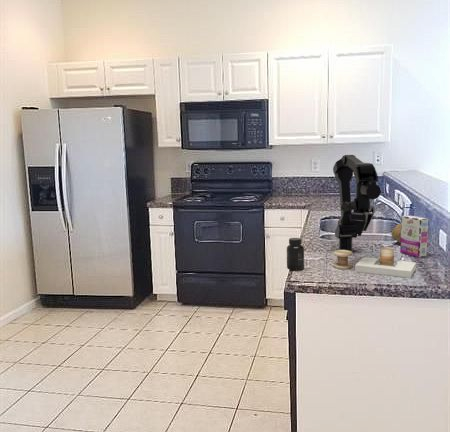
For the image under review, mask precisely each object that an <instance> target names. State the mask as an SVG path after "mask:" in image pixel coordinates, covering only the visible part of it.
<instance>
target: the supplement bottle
mask: <svg viewBox="0 0 450 432" xmlns="http://www.w3.org/2000/svg"><path fill="white" fill-rule="evenodd" d="M286 268H287V269H288V270H289V271H302V270H304V269H305V247H304V246H303V245H302V238H301V237H290V238H289V239H288V245H287V247H286Z"/></svg>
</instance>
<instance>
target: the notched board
mask: <svg viewBox="0 0 450 432" xmlns="http://www.w3.org/2000/svg"><path fill="white" fill-rule="evenodd" d="M379 262H380V258H376V257H375V258H374V257H362V258H361V259H359V261H358V262H356V263H355V265H354V272H355V271H356V272H357V273H365V274H372V275H380V276H382V275H383V276H390V277H398V278H407V279H411V278H412V276H413V274H414V273H415V271H416V268H417V262H414V261H406V260H405V261H403V260H399V261H398V262H397V264H396V265H395V266H394V265H393V266H385V265H380V264H379Z"/></svg>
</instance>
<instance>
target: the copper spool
mask: <svg viewBox="0 0 450 432" xmlns="http://www.w3.org/2000/svg"><path fill="white" fill-rule="evenodd" d="M379 251H380V253H379V265H385V266H394V263H395V248H394V247H389V246H388V247H387V246H386V247H385V246H384V247H383V246H382V247H380V248H379Z"/></svg>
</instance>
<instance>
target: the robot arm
mask: <svg viewBox="0 0 450 432" xmlns="http://www.w3.org/2000/svg"><path fill="white" fill-rule="evenodd" d="M332 171H333V174H334V178H335V180H336V181H337V183H338V189H339V201H340V202H339V204H340V217H339V219H338V221H337V225H336V227H335V228H336V229H335V230H334V237H335V238H336V239H338V249H336V250H348V251H351V252H352V253H353V251H355V248H353V238H354V239H357V237H361V236H362V234H363V232H367V229H368V227H369V225H370V224H371V221H372V219H373V217H374V215H375V213H376V207H375V206H374V205H371V203H372V202H371V201H372V200H376V199H378V198H380V196H381V193H382V190H381V187H380V186H379V185H378V184H377V182H379V180H378V179H379V176H378V172H377V170H376V168H375V166H374V164H373V163H370V162H363V161H361V159H359V158H357V157H356V155H354V154H344V155H343V156H342V157H341V158H340V159H339V160H337V161H335V163H334V165H333V168H332ZM353 177H354V178H355V184H356V185H355V186H356V190H355V197H354V199H353V201H352V197H351V196H352V195H351V181H352V178H353Z"/></svg>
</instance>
